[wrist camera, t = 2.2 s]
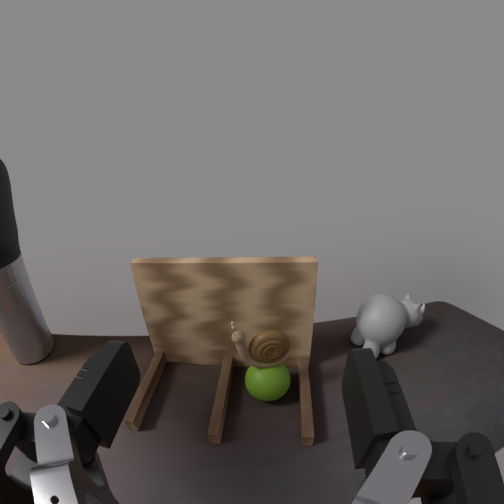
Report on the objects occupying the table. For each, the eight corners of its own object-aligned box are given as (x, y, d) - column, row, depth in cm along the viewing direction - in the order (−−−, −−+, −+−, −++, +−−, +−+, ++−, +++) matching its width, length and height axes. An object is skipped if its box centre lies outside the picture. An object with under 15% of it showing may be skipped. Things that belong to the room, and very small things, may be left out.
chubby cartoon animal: (429, 347, 37) (445, 300, 34) (363, 368, 36) (375, 317, 33) (406, 321, 44) (417, 277, 41) (343, 336, 43) (351, 288, 39)
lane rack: (126, 428, 28) (72, 325, 21) (160, 353, 41) (135, 257, 35) (315, 445, 26) (339, 339, 19) (308, 359, 39) (316, 256, 33)
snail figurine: (235, 382, 36) (227, 309, 31) (283, 375, 36) (285, 301, 32) (242, 414, 31) (233, 341, 26) (294, 405, 32) (300, 331, 27)
